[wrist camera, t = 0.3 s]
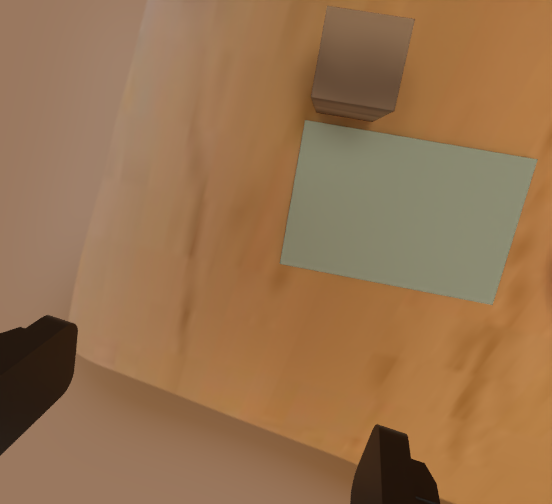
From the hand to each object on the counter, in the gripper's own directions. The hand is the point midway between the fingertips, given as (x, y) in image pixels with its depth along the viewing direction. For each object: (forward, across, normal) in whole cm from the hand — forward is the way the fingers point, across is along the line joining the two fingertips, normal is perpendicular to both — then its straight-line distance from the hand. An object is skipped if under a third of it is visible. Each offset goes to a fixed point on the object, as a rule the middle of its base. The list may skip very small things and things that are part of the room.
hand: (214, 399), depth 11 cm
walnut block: (+28, 0, -9) cm, 30 cm away
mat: (+28, -7, 0) cm, 29 cm away
